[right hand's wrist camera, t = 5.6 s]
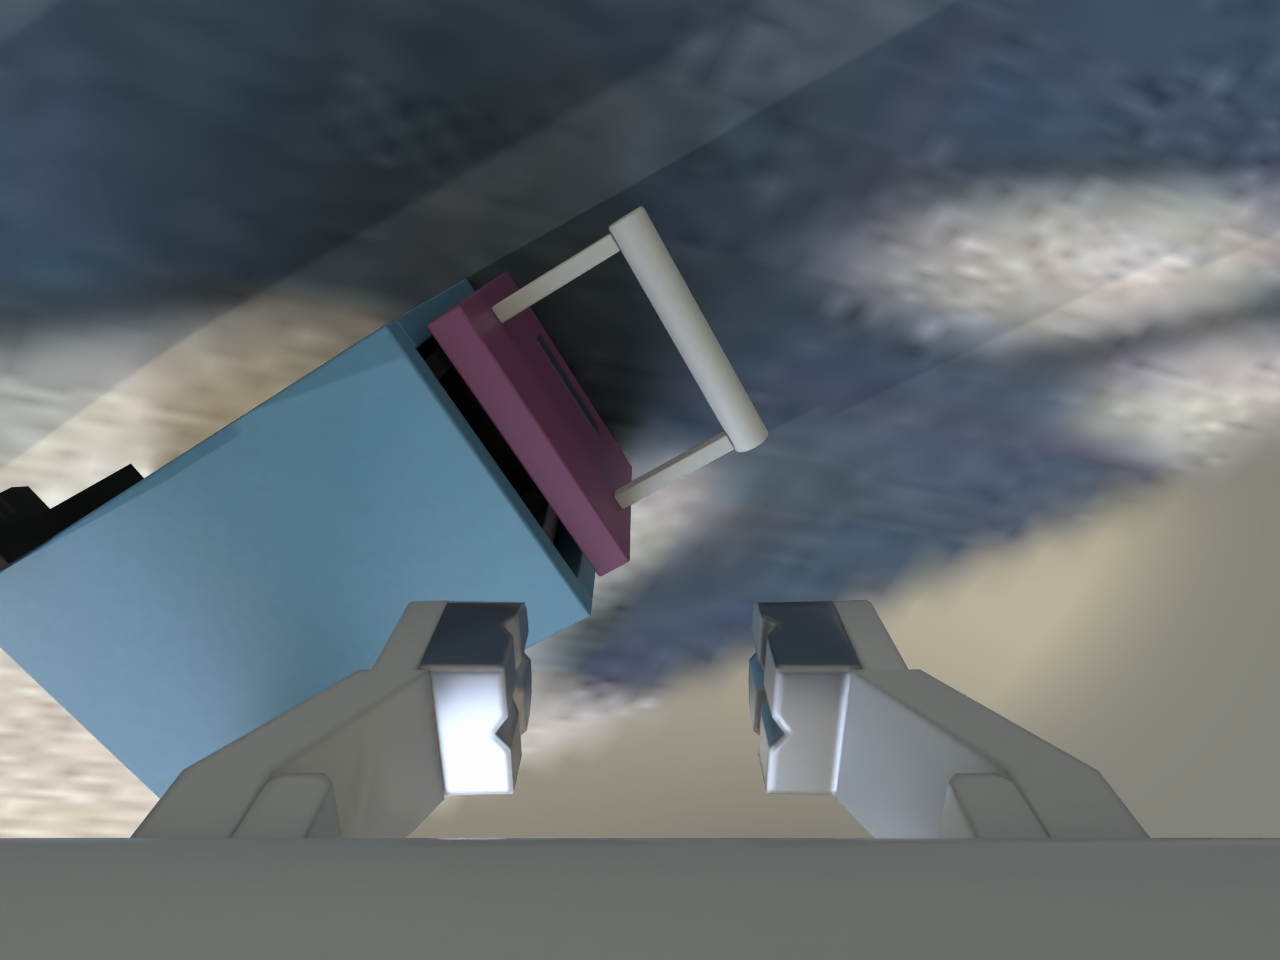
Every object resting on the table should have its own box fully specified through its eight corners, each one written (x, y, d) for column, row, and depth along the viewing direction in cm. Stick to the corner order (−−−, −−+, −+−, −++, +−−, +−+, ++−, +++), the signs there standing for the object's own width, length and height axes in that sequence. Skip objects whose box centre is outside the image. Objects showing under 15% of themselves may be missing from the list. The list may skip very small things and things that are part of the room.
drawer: (635, 189, 29) (634, 194, 21) (752, 401, 32) (791, 476, 24) (199, 464, 33) (56, 558, 25) (340, 629, 36) (253, 760, 28)
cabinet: (466, 277, 31) (385, 324, 21) (605, 489, 34) (591, 615, 24) (150, 478, 34) (-51, 602, 24) (305, 654, 38) (186, 825, 28)
